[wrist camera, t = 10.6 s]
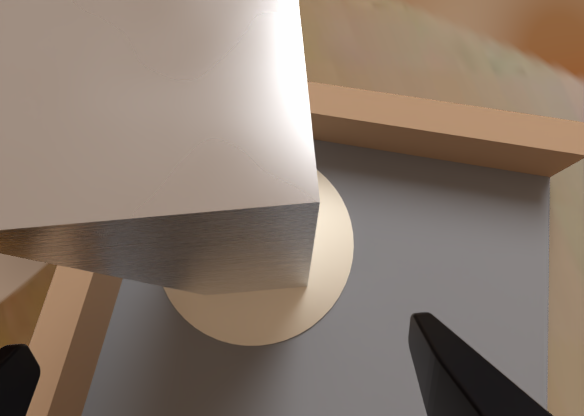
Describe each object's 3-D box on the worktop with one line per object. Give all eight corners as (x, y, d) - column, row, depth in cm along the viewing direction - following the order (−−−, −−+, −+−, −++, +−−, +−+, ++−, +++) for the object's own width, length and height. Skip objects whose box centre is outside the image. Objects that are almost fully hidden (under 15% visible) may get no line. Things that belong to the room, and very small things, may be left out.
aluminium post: (307, 286, 17) (319, 201, 4) (205, 295, 17) (-79, 237, 4) (298, 189, 18) (287, -97, 6) (203, 197, 18) (-23, -69, 6)
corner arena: (535, 664, 14) (598, 759, 11) (14, 530, 15) (-54, 582, 12) (543, 152, 19) (587, 122, 16) (155, 91, 20) (131, 55, 17)
